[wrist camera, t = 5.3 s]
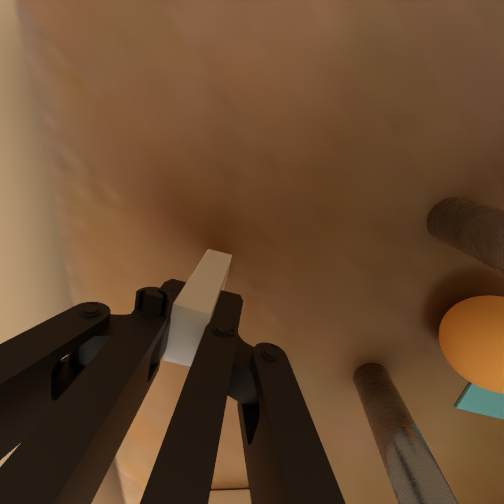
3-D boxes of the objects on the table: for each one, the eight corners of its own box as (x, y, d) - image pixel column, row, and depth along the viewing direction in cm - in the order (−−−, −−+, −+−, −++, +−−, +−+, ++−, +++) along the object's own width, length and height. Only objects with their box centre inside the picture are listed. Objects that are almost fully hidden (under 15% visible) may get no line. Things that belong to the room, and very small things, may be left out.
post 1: (394, 368, 21) (477, 513, 13) (380, 394, 22) (449, 546, 14) (360, 360, 21) (421, 500, 13) (348, 386, 22) (397, 534, 13)
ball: (509, 286, 19) (618, 340, 14) (468, 351, 21) (551, 419, 16) (443, 273, 18) (536, 327, 13) (405, 343, 20) (475, 415, 15)
